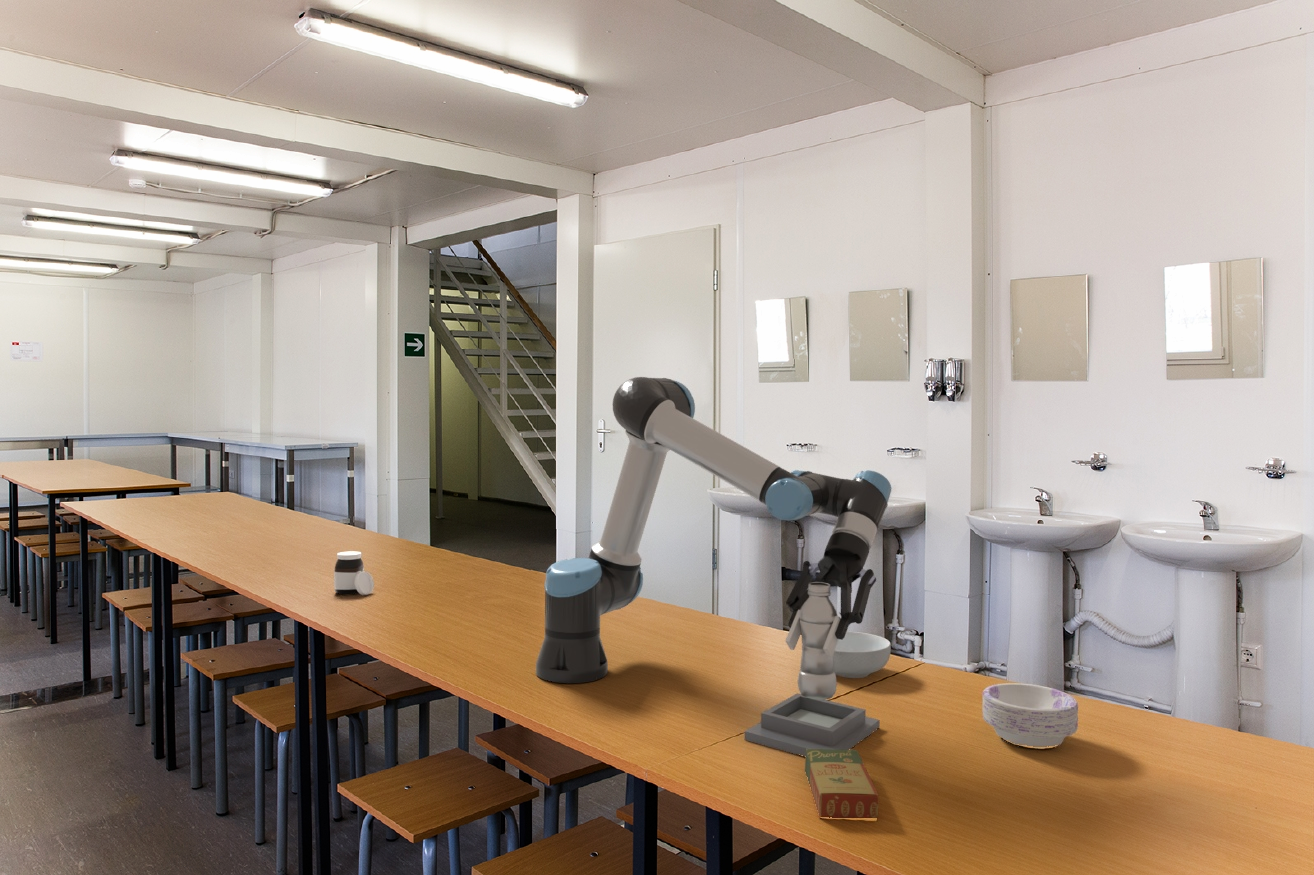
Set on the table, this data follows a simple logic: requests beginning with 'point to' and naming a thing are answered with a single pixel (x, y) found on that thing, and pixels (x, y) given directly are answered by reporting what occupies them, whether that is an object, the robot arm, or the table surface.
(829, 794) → the carton
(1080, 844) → the table surface
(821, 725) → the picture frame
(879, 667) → the cereal bowl
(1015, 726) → the paper bowls
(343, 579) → the spread jar
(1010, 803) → the table surface
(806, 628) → the plastic bottle
